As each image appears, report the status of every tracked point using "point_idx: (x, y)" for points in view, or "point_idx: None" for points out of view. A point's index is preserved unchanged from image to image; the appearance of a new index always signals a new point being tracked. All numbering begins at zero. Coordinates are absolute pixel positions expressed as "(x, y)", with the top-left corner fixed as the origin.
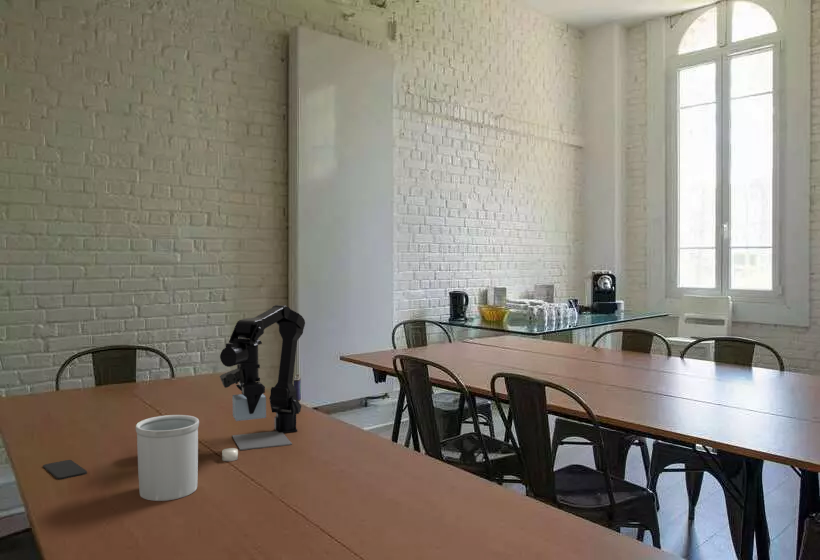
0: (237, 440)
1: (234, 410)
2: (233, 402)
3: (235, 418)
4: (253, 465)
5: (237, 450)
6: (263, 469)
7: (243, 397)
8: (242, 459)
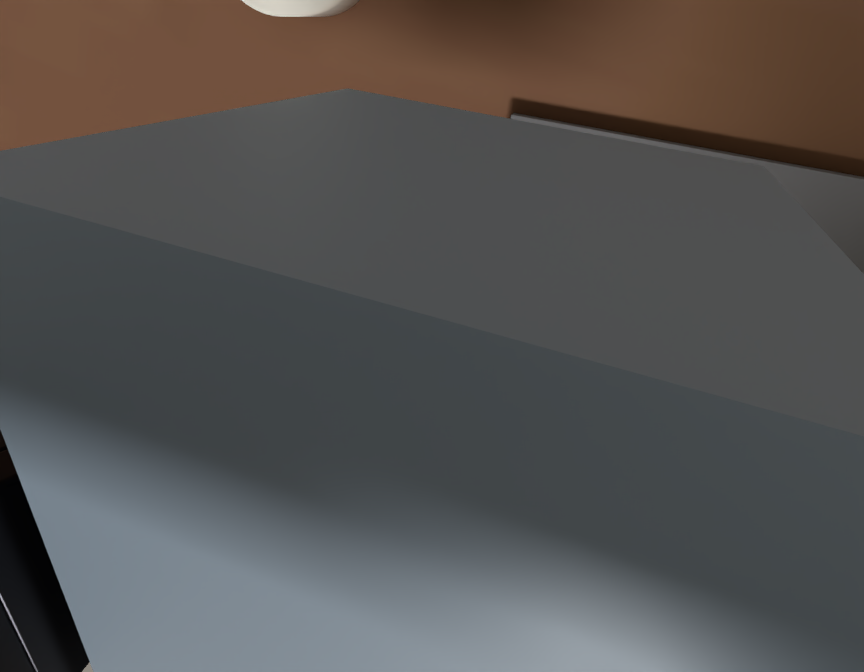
0: (834, 201)
1: (465, 146)
2: (615, 237)
3: (396, 103)
4: (124, 77)
5: (247, 3)
6: (46, 110)
7: (185, 529)
8: (270, 45)
